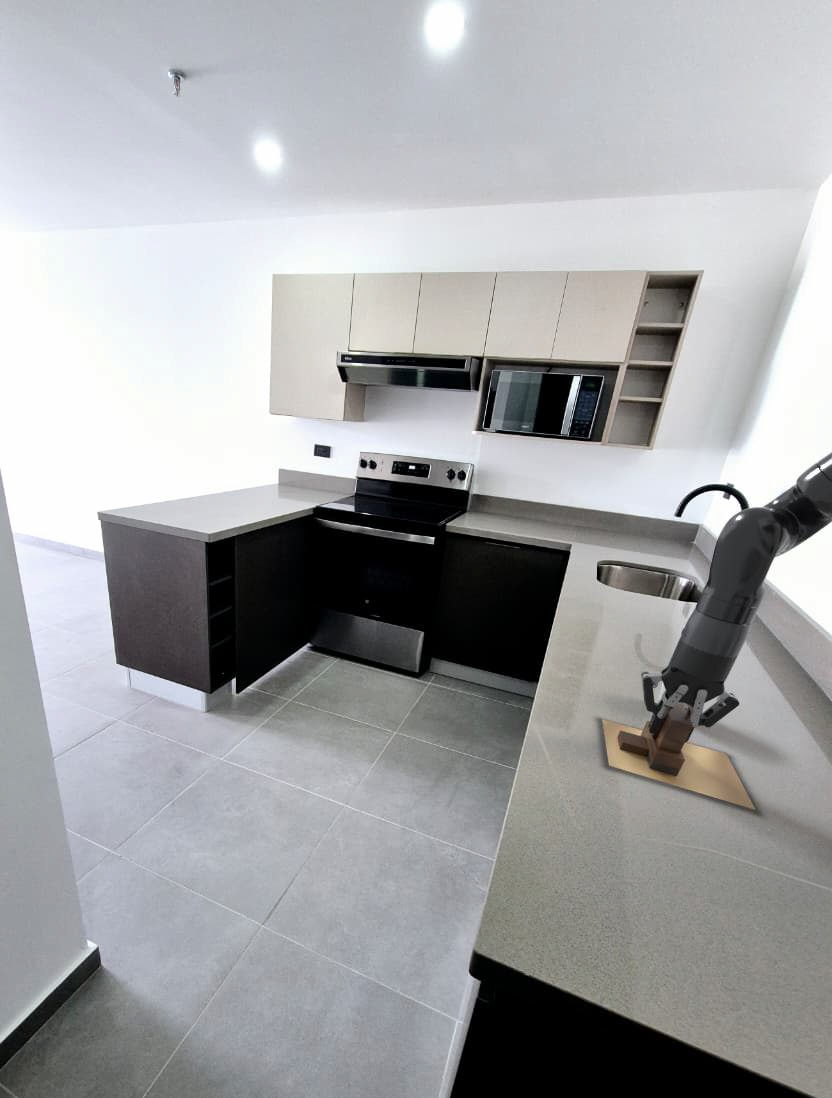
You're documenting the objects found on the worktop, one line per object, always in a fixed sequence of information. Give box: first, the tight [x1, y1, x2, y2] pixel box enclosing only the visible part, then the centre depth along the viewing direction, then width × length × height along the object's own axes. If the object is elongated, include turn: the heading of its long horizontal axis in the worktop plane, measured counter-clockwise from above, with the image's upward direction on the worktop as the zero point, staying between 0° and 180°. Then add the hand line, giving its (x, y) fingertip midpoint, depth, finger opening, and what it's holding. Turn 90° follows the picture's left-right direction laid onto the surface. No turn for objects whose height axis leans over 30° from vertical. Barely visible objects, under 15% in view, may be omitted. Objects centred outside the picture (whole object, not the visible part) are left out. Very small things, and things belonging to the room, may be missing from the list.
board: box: [602, 719, 756, 811], centre depth 83 cm, size 20×15×1 cm
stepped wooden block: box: [641, 703, 693, 776], centre depth 81 cm, size 4×10×8 cm, turn 159°
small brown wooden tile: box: [617, 730, 649, 757], centre depth 84 cm, size 4×4×2 cm
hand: (665, 738), depth 82 cm, fingers closed on stepped wooden block, 3 cm apart
